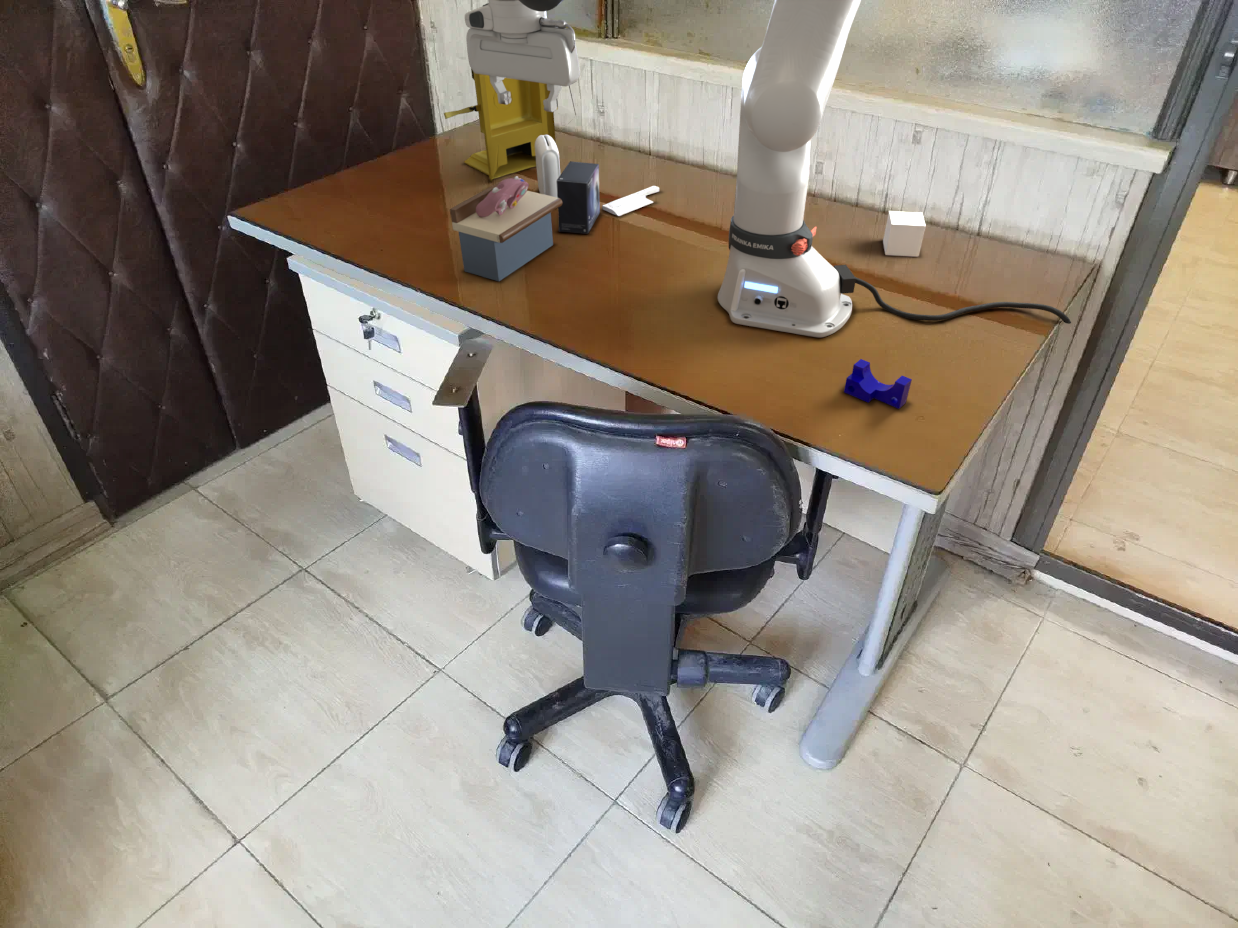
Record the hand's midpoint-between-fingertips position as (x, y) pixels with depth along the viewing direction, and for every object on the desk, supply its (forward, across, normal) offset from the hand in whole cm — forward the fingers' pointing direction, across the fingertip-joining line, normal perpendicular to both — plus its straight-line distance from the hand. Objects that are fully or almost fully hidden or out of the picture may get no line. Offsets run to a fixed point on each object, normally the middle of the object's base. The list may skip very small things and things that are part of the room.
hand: (527, 107), depth 139 cm
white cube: (+28, -58, -35) cm, 73 cm away
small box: (+27, +1, -15) cm, 31 cm away
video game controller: (+17, +4, +5) cm, 18 cm away
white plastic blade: (+27, -4, -29) cm, 40 cm away
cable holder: (+28, -68, +14) cm, 75 cm away
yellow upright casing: (+26, +33, -35) cm, 55 cm away
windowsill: (+26, +4, +4) cm, 27 cm away
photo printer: (+27, +14, -23) cm, 38 cm away
